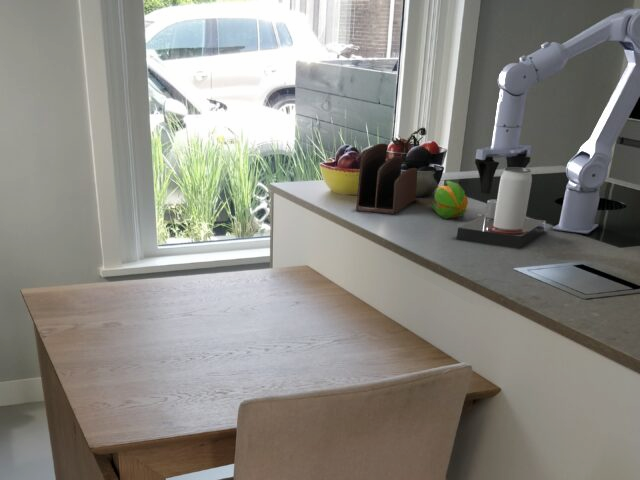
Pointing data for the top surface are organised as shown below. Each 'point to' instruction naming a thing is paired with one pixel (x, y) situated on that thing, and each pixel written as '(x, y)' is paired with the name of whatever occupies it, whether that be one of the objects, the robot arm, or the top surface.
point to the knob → (491, 208)
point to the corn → (450, 200)
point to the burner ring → (491, 228)
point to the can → (512, 199)
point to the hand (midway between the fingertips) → (497, 191)
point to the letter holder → (384, 182)
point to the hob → (481, 234)
